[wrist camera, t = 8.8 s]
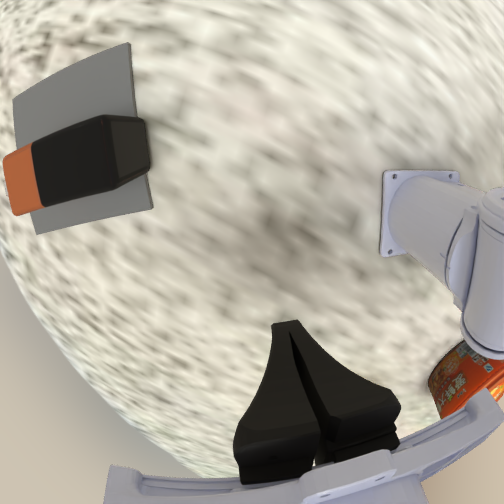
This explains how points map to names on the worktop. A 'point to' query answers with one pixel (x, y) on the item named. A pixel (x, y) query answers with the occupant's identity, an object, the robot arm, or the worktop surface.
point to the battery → (76, 162)
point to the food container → (464, 378)
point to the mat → (74, 111)
